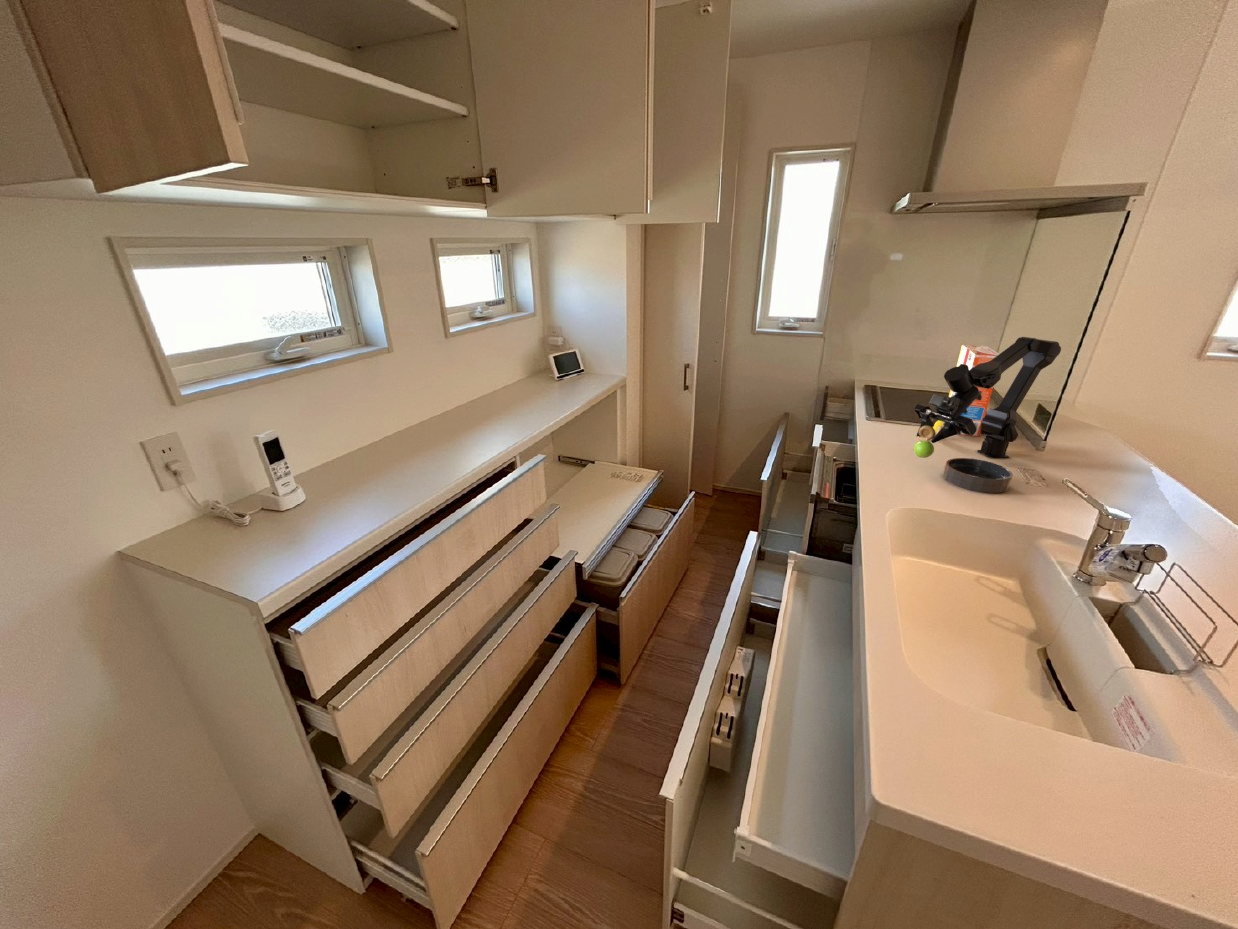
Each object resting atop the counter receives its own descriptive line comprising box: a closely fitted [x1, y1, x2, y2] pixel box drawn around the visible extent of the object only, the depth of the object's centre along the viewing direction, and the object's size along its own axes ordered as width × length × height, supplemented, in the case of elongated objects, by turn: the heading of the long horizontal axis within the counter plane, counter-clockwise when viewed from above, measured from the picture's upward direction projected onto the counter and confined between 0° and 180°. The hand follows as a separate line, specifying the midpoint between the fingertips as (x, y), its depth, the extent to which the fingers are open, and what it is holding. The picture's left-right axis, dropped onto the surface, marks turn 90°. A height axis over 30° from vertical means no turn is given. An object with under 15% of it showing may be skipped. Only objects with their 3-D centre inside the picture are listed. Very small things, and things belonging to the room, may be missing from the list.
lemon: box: [933, 420, 945, 434], centre depth 181 cm, size 6×6×8 cm
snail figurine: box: [913, 423, 944, 459], centre depth 155 cm, size 5×6×12 cm
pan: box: [942, 457, 1014, 494], centre depth 147 cm, size 16×16×4 cm
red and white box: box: [948, 344, 1000, 437], centre depth 191 cm, size 23×8×30 cm, turn 157°
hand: (924, 439), depth 154 cm, fingers closed on snail figurine, 5 cm apart
